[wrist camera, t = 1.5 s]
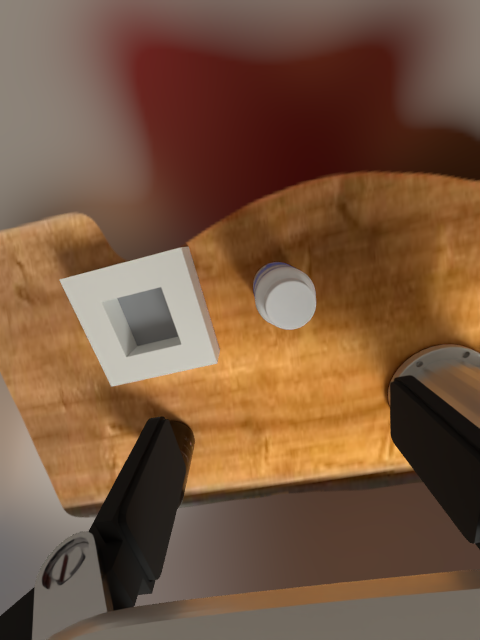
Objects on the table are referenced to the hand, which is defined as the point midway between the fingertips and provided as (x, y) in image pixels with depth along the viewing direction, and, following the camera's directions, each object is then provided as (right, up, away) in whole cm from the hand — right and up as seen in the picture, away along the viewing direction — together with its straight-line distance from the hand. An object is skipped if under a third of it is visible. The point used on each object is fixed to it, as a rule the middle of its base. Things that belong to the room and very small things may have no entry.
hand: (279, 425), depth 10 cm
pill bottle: (+2, +9, +18) cm, 20 cm away
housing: (-12, +5, +19) cm, 23 cm away
